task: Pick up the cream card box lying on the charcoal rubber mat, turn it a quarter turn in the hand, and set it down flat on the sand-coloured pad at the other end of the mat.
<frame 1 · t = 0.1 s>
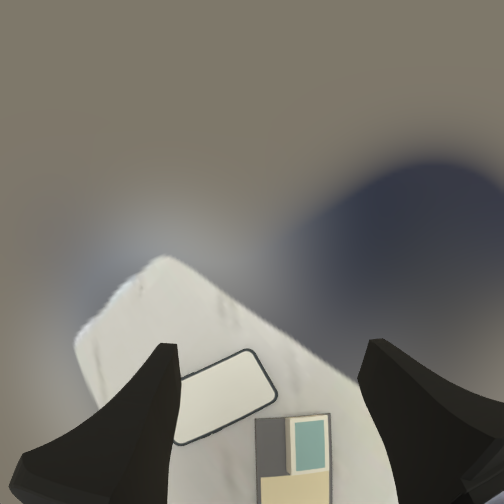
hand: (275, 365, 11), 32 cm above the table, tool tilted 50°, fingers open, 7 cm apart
phone case: (214, 398, 39), on the table
mat: (294, 472, 34), on the table
card box: (303, 443, 35), point 1 cm above the table, touching mat
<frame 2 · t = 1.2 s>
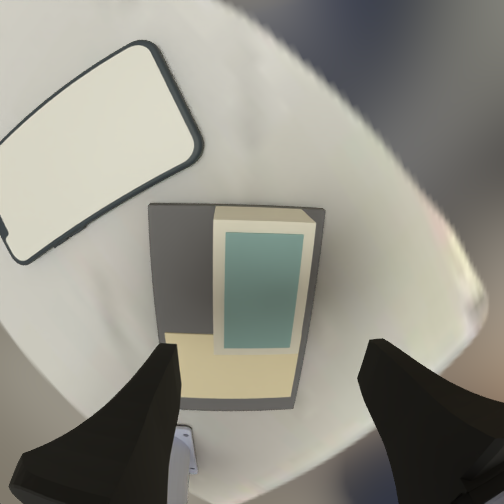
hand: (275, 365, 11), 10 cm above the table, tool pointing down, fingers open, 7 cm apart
phone case: (75, 157, 17), on the table
mat: (233, 326, 21), on the table
card box: (255, 271, 19), point 1 cm above the table, touching mat
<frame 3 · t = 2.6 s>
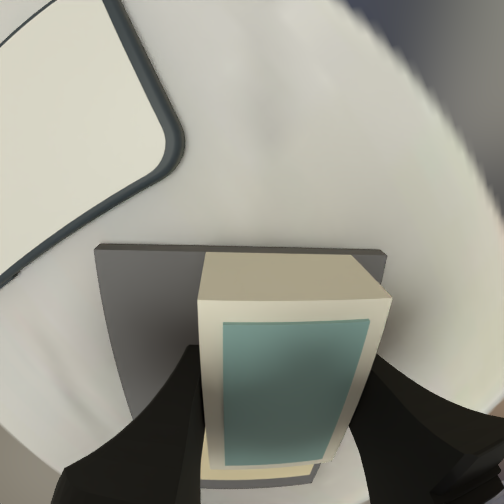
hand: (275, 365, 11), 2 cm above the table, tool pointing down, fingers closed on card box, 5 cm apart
mat: (237, 410, 14), on the table
card box: (272, 349, 12), point 1 cm above the table, touching gripper, mat
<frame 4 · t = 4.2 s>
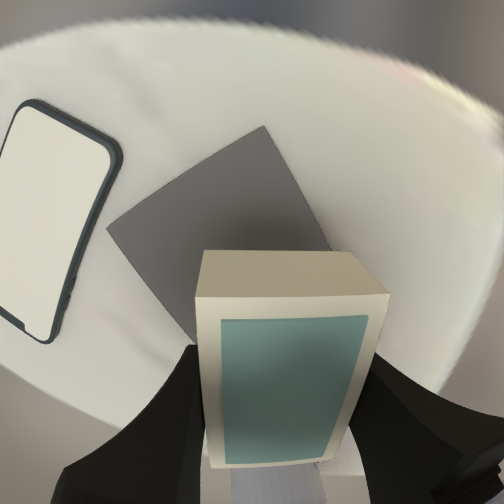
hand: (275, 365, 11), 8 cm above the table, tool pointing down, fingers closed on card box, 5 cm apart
phone case: (36, 228, 17), on the table
mat: (257, 293, 19), on the table
card box: (271, 347, 12), point 7 cm above the table, touching gripper
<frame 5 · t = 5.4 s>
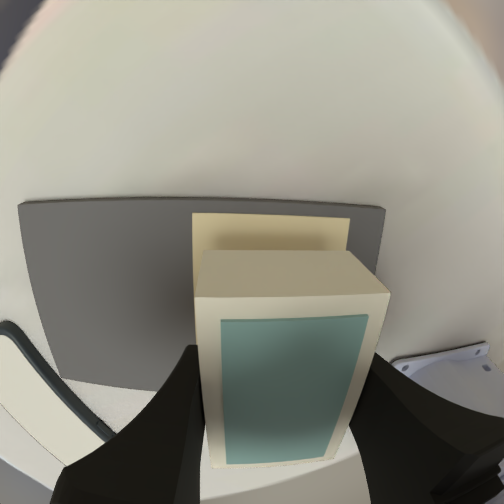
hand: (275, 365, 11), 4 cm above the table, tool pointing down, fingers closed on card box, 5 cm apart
phone case: (55, 409, 17), on the table
mat: (190, 308, 14), on the table
card box: (271, 346, 12), point 3 cm above the table, touching gripper
when the fingers open (3 cm above the table, at t = 6.2 s): card box drops 1 cm, resting on mat.
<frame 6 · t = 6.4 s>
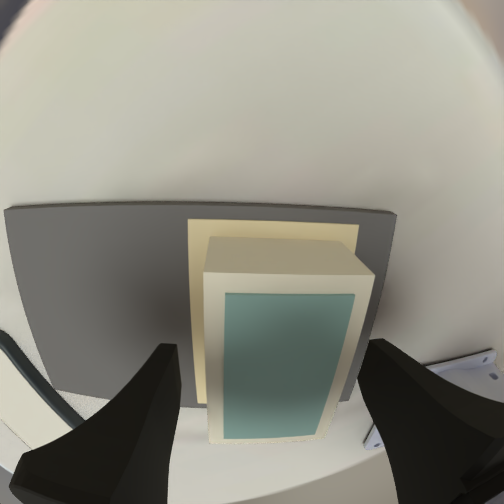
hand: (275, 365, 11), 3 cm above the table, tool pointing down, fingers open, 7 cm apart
phone case: (50, 419, 16), on the table
mat: (187, 320, 13), on the table
card box: (268, 328, 13), point 1 cm above the table, touching mat
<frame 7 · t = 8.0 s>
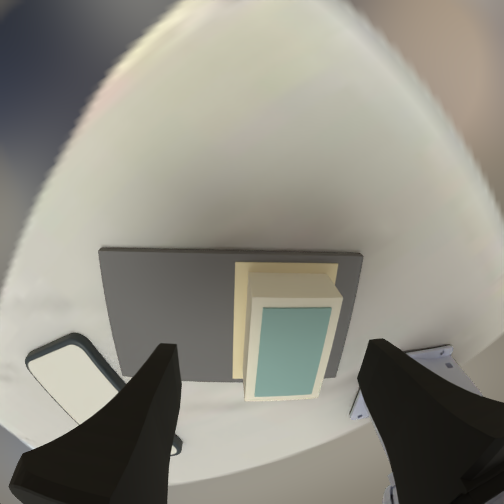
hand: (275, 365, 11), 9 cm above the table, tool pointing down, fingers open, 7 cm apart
phone case: (106, 402, 24), on the table
mat: (229, 322, 21), on the table
card box: (281, 326, 20), point 1 cm above the table, touching mat
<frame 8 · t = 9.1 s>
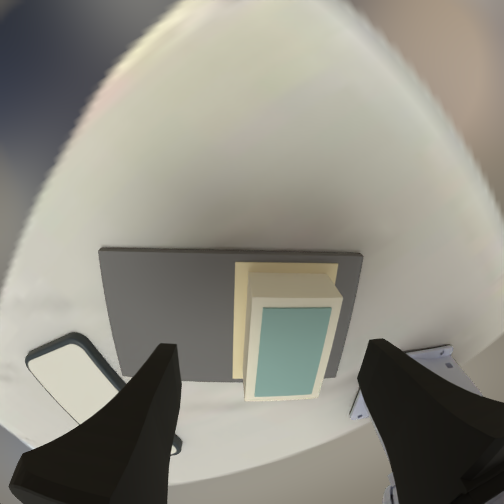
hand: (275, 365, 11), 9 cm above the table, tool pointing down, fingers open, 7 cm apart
phone case: (106, 401, 24), on the table
mat: (229, 322, 21), on the table
card box: (281, 326, 20), point 1 cm above the table, touching mat
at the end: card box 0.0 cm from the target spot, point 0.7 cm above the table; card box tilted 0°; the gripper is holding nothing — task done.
